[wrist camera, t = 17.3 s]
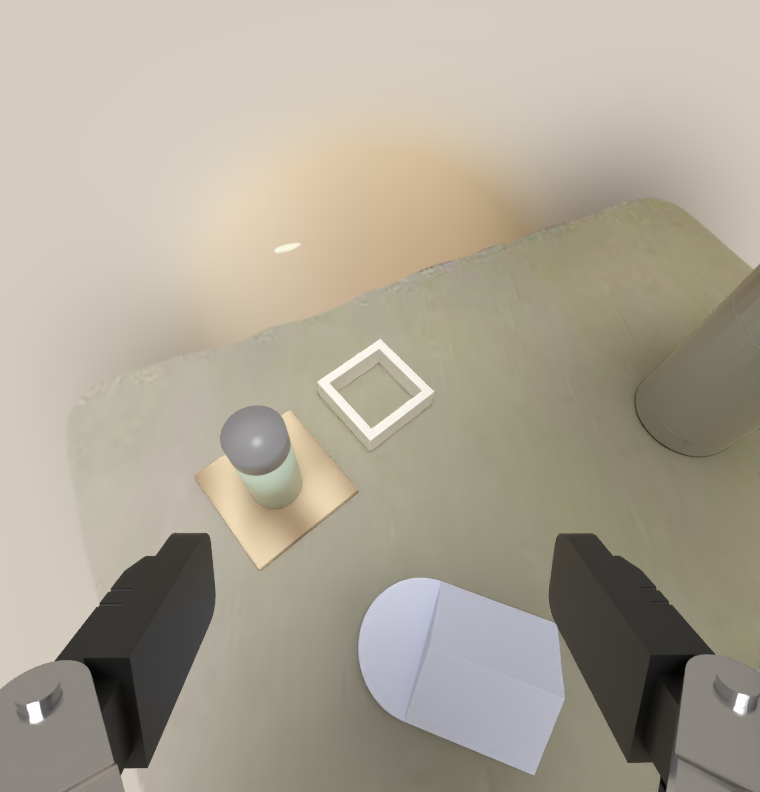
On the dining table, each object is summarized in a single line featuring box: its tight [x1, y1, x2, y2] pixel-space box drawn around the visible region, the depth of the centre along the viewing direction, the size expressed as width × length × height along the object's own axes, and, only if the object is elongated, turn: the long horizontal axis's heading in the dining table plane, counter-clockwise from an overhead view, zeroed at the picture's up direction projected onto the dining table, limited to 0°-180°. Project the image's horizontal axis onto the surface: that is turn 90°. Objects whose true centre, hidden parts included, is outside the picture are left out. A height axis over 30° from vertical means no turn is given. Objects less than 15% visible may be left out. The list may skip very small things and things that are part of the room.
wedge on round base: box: [358, 578, 565, 775], centre depth 33 cm, size 9×7×13 cm
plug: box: [220, 406, 302, 509], centre depth 36 cm, size 4×4×10 cm
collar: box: [317, 339, 434, 452], centre depth 45 cm, size 8×8×2 cm
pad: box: [194, 410, 358, 571], centre depth 41 cm, size 10×10×1 cm
